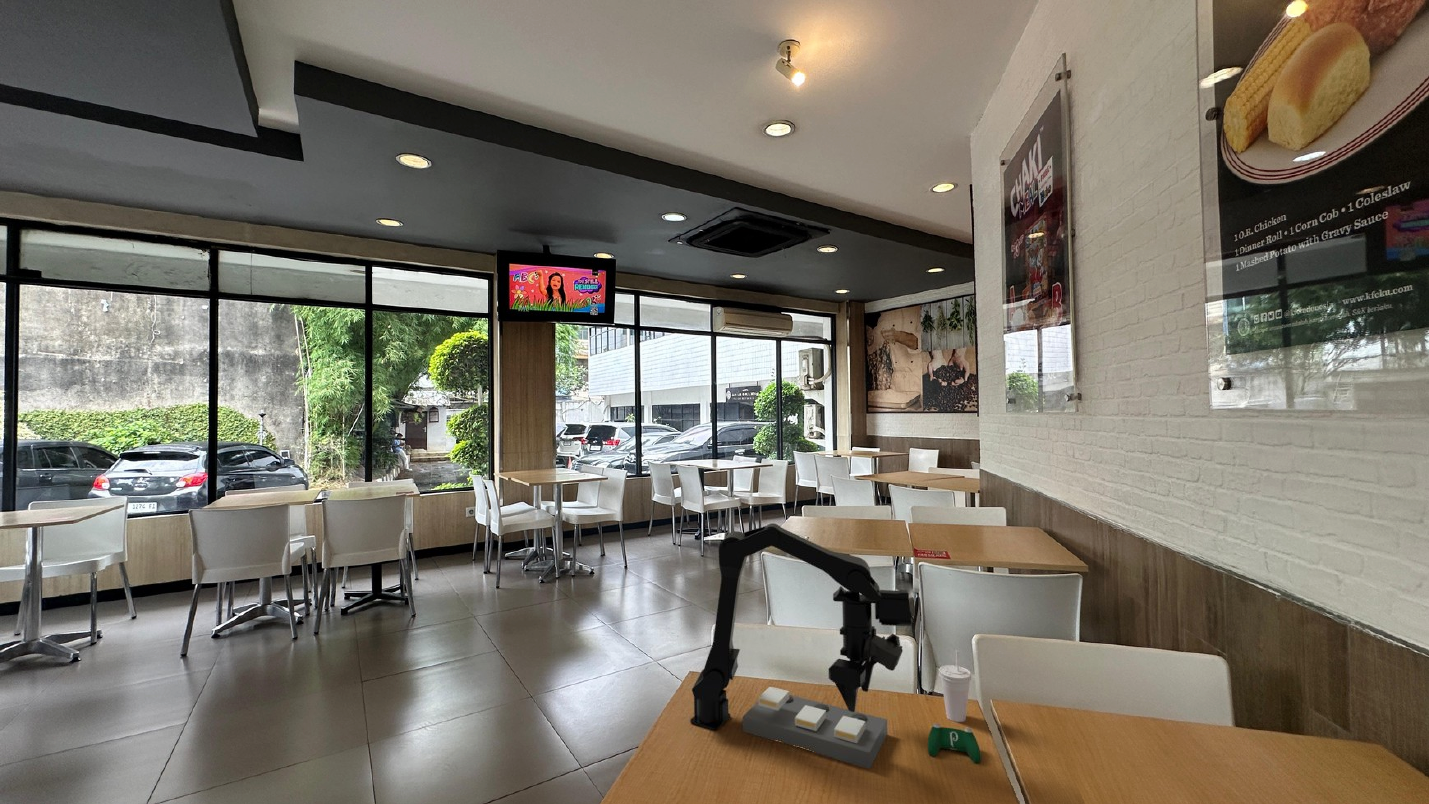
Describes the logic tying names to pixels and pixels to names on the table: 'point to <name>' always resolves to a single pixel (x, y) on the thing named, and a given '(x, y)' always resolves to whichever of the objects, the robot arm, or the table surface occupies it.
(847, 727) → the right button
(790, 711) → the control panel
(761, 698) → the left button
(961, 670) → the smoothie
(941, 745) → the gaming controller
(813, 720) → the middle button
